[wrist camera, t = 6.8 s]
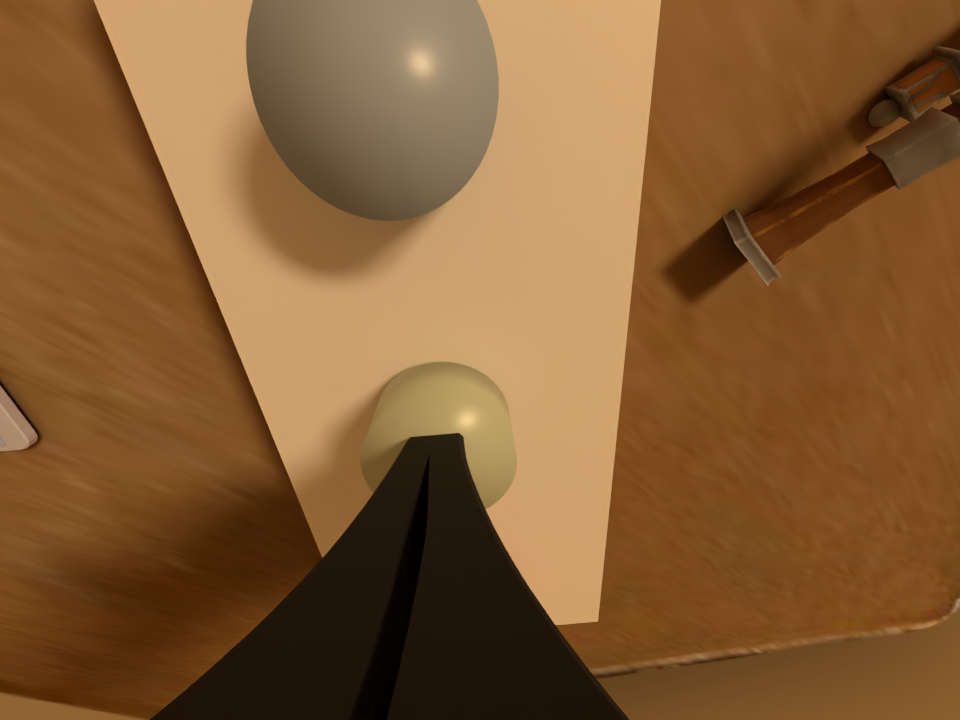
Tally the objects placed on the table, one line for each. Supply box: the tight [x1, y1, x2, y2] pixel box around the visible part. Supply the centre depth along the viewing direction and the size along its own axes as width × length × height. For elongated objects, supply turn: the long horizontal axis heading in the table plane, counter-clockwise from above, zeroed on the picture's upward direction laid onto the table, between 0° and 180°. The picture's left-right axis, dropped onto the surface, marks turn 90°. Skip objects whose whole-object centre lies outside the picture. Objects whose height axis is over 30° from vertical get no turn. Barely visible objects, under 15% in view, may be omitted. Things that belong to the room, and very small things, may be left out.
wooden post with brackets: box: [723, 46, 960, 285], centre depth 9 cm, size 2×8×4 cm, turn 138°
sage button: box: [360, 362, 517, 509], centre depth 11 cm, size 4×4×2 cm
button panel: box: [94, 0, 661, 625], centre depth 13 cm, size 11×24×2 cm, turn 5°
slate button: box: [246, 0, 499, 221], centre depth 7 cm, size 4×4×2 cm
